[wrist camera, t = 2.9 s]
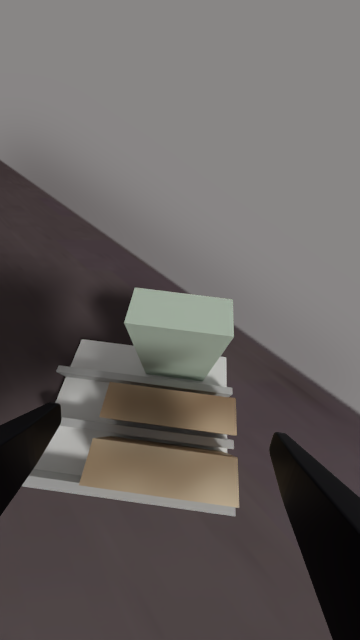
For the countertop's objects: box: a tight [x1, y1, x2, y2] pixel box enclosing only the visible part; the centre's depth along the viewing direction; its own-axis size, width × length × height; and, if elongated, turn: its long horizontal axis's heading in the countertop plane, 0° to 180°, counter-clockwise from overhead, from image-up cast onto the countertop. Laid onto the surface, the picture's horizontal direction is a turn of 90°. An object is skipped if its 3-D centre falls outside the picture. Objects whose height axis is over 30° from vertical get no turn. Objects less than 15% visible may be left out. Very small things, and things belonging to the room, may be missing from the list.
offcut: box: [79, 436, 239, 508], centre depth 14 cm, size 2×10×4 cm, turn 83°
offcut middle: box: [99, 382, 237, 436], centre depth 16 cm, size 2×10×4 cm, turn 83°
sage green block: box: [124, 288, 234, 381], centre depth 15 cm, size 2×6×11 cm, turn 83°
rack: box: [22, 339, 235, 516], centre depth 17 cm, size 13×16×3 cm
